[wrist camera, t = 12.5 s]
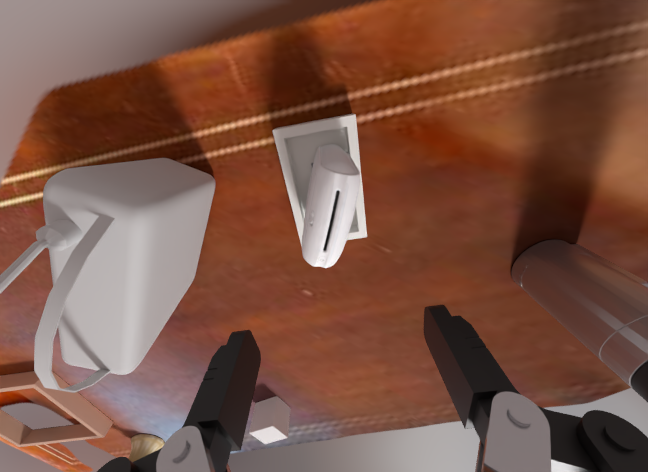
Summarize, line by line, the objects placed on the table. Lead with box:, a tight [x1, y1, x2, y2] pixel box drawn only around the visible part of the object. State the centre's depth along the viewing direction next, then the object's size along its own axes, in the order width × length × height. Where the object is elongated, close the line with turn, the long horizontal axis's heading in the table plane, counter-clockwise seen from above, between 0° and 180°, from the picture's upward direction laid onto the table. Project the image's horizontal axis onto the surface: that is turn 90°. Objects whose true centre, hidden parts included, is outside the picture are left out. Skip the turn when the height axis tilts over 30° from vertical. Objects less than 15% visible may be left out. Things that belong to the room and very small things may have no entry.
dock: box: [272, 114, 367, 246], centre depth 30 cm, size 9×15×3 cm, turn 10°
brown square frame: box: [0, 371, 114, 447], centre depth 53 cm, size 22×22×3 cm
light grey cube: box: [249, 396, 291, 444], centre depth 55 cm, size 6×6×6 cm
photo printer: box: [302, 144, 360, 268], centre depth 25 cm, size 10×4×12 cm, turn 169°
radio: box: [0, 158, 215, 393], centre depth 23 cm, size 22×8×25 cm, turn 156°
